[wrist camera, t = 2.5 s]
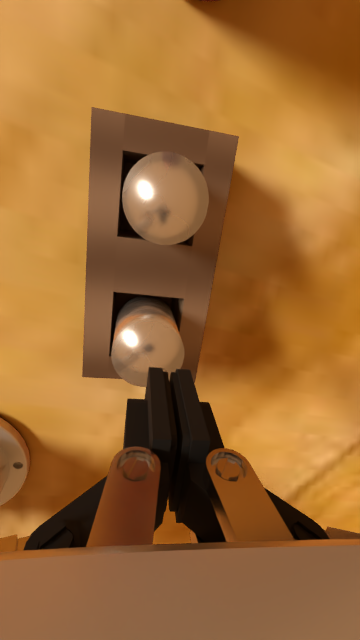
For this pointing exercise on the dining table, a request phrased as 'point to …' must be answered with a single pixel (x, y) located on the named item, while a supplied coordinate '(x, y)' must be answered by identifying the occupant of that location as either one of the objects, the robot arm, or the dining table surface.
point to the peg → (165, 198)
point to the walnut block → (138, 253)
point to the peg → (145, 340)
